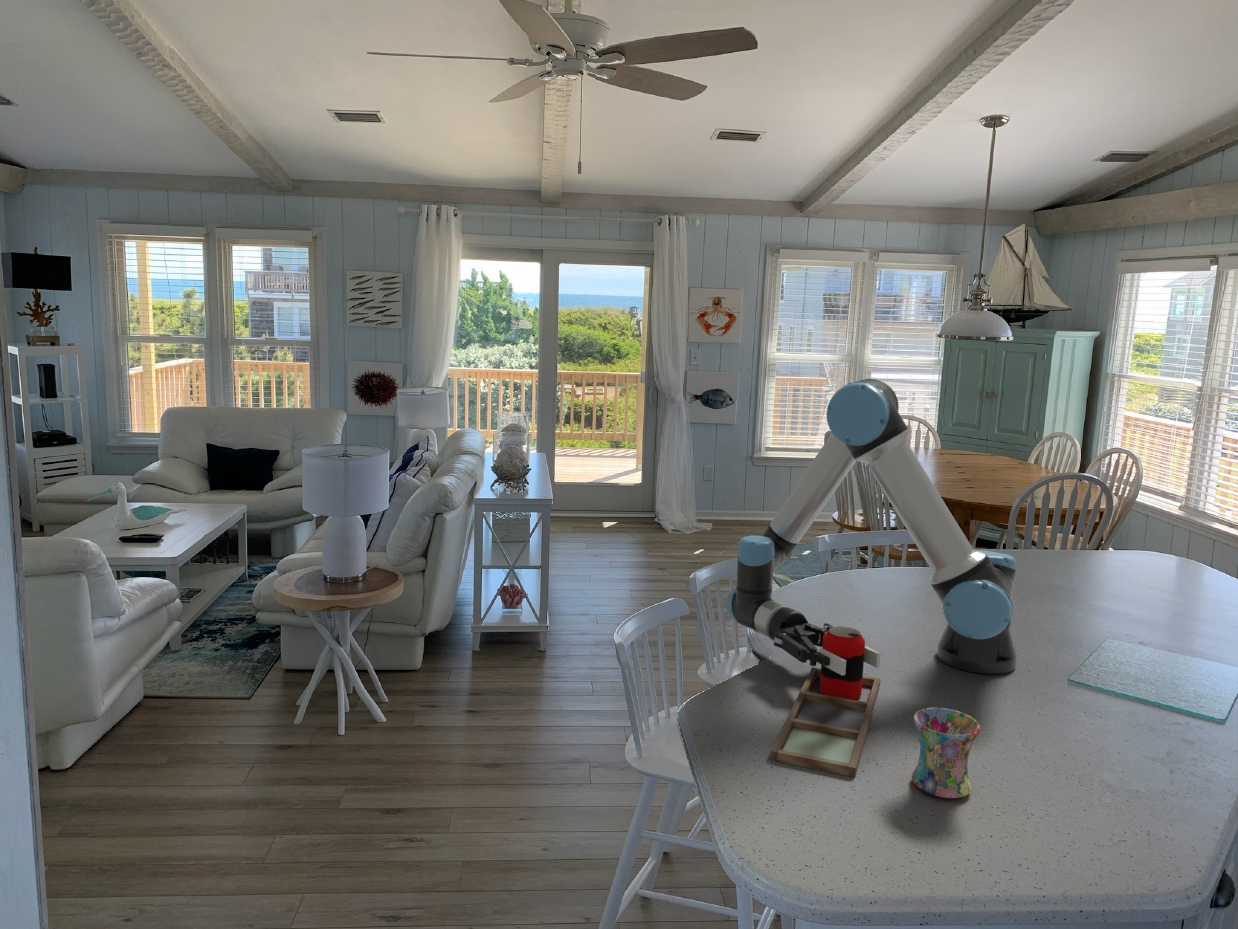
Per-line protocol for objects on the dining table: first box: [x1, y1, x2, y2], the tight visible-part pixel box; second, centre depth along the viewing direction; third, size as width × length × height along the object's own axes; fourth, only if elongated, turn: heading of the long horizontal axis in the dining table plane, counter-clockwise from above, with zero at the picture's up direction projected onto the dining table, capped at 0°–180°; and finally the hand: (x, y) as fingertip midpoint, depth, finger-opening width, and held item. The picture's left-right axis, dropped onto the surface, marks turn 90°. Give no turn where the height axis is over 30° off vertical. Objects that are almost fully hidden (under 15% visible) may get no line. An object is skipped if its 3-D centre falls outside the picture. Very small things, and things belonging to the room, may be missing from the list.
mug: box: [911, 707, 981, 799], centre depth 130 cm, size 12×9×11 cm
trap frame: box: [770, 666, 881, 778], centre depth 153 cm, size 13×37×2 cm, turn 158°
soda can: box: [819, 626, 866, 700], centre depth 163 cm, size 8×8×12 cm
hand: (861, 664), depth 159 cm, fingers closed on soda can, 7 cm apart
